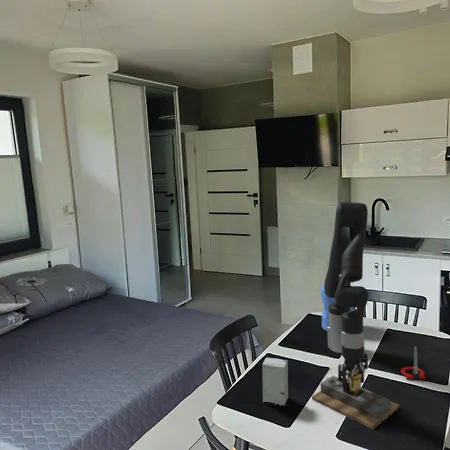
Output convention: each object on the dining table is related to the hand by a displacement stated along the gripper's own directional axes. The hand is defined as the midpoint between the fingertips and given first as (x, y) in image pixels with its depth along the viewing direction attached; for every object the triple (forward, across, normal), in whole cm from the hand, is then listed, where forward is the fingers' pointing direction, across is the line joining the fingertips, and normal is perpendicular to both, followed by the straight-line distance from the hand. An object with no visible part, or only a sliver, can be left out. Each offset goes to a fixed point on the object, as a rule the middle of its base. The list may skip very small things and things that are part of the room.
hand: (353, 386), depth 145 cm
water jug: (+6, -50, -42) cm, 66 cm away
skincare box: (+6, +17, -21) cm, 28 cm away
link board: (+6, 0, 0) cm, 6 cm away
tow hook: (+7, -32, +5) cm, 33 cm away
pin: (+5, 0, 0) cm, 5 cm away
